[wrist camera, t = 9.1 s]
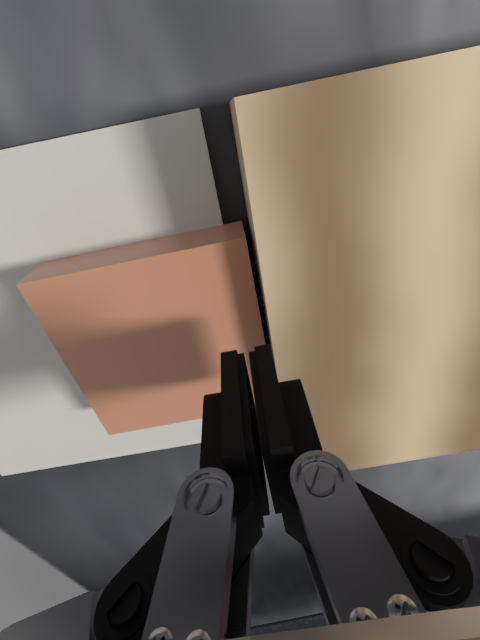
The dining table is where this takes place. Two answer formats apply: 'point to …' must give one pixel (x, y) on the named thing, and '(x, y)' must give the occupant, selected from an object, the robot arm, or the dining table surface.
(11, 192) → the mat
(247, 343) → the tile
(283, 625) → the dark blue flat slab
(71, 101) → the dining table surface
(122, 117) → the dining table surface
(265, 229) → the board
